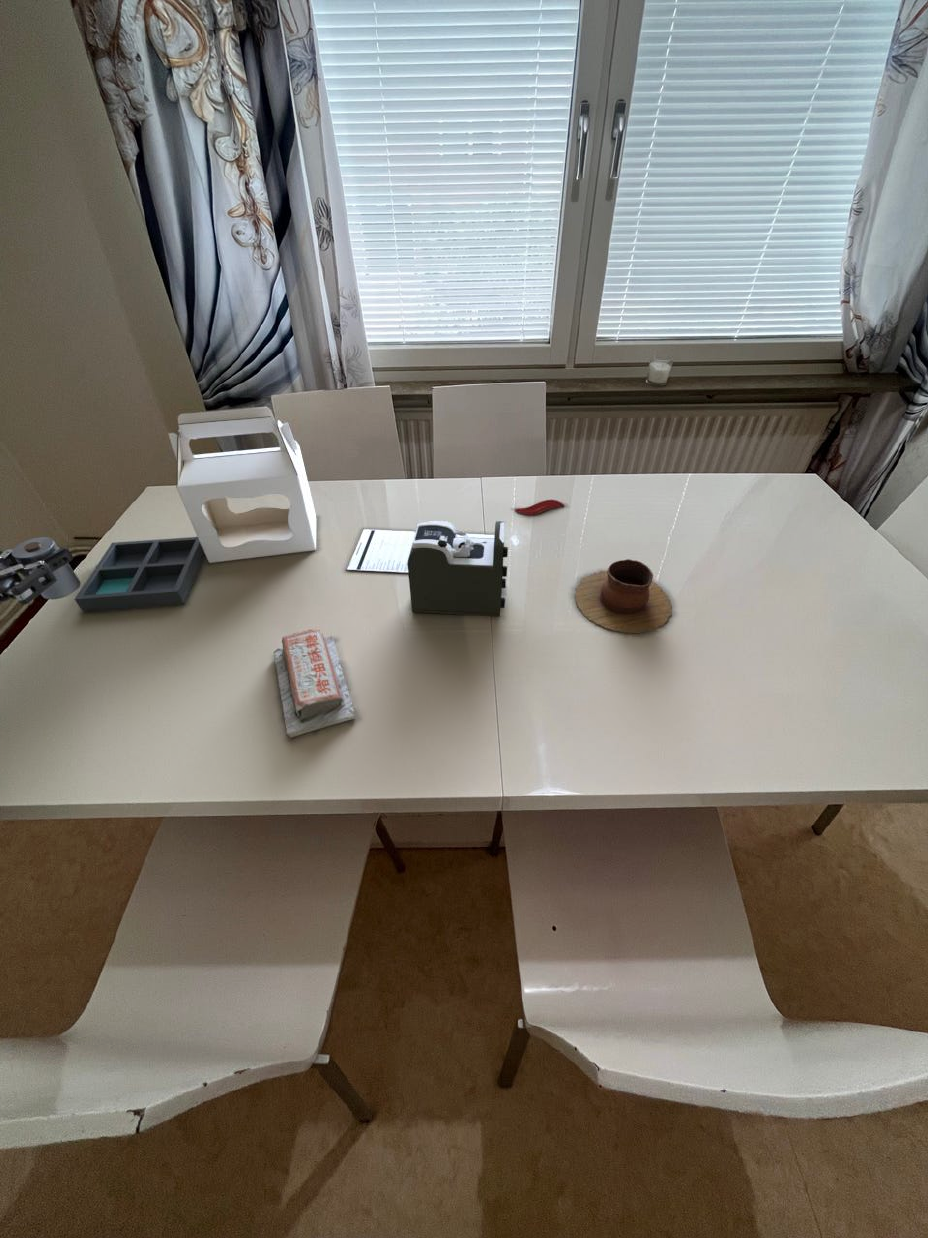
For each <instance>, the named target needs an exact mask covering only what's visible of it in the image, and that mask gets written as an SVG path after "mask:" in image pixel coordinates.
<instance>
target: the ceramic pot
mask: <svg viewBox="0 0 928 1238" xmlns="http://www.w3.org/2000/svg"><path fill="white" fill-rule="evenodd" d="M653 579H654V574H653V571H652V570H651V568H650V567H649V566H648V565H646V564H645V563H643V562H641V561H639V560H633V559H629V558H627V559H622V560H621V559H620V560H616V561H614V562H612V563H610V565H609V566H608V568H607V570H600V572H595V573H590V575H587V576H586V577H583V578H582V579H581V580H580V581H579V583H578V585H577V587H576V588H575V592H574V599H575V601H576V605H577V607H578V609H579V610H580V612H581V613H582V615H583V616H585V618H586V619H587V620H588V621H591V622H593V623H595V625H599V626H601V628H602V627H604V628H606V629H607V630H611V631H617V632H621V633H624V634H627V633H633V634H642V633H643V634H644V633H647V632H650V631H654V630H656V629H657V628H658V627H663V625H665V623H666V622H668V621H669V618H670V616H672V610H671V609H672V604H671V600H670V599H671V598H669V595H667V593H666V591H664V590H663V589H662V587H661V586H659V585H658V584H657V583H656V582H653Z"/></svg>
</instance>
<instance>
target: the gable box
mask: <svg viewBox="0 0 928 1238" xmlns="http://www.w3.org/2000/svg"><path fill="white" fill-rule="evenodd" d="M177 426H178V431H177V432H174V431H169V432H168V433H167V434H168V437H169V441H170V444H171V448H172V451H173V454H174V456H175V459H176V476H175V477H176V478H175V479H176V485H175V487H176V490H177V492H178V495H179V497H180V499H181V501H182V504H183V507H184V509H185V511H186V513H187V516H188V518H189V520H190V522H191V525H192V527H193V530H194V531H195V534H196V537H198V539H199V541H200V543H201V546H202V548H203V550H204V553H205V557H206V560H207V562H208V563H210V564H213V563H220V562H222V563H223V562H230V561H238V560H245V559H254V558H261V557H268V556H269V557H270V556H279V555H287V554H295V553H303V552H304V553H305V552H312V551H316V550H317V515H316V509H315V505H314V501H313V497H312V493H311V489H310V485H309V481H308V476H307V472H306V468H305V464H304V460H303V455H302V450H301V446H300V445H299V443H298V442H297V441H296V440H295V437H294V434H293V432H292V431H293V430H292V429H291V425H290V422H289V421H284V422H283V423H282V421H280V420H279V419H278V420H277V418H276V416H275V415H274V412H273V410H272V409H271V408H270V407H269V406H257V407H256V406H254V407H246V408H245V407H243V408H241V407H240V408H231V409H230V408H229V409H219V410H218V409H217V410H205V411H192V412H183V413H182V412H181V413H179V414H178V415H177ZM262 433H265V434H269V433H272V434H274V435H275V437H276V438H277V441H278V446H275V447H266V448H264V447H263V448H255V449H244V450H232V451H222V452H212V453H211V452H210V453H201V454H200V453H199V454H194V453H193V450H192V448H191V445H190V441H191V440H198V439H207V438H208V439H209V438H219V437H231V436H241V435H253V434H262ZM268 495H269V496H270V495H281V496H284V497H286V498H287V499H288V500H289V507H288V508H282V507H276V506H263V507H257V508H253V509H251V510H248V511H244V512H233V511H232V510H231V509H230V508H229V504H228V500H227V499H254V498H260V497H263V496H268Z"/></svg>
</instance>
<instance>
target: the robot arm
mask: <svg viewBox="0 0 928 1238" xmlns="http://www.w3.org/2000/svg"><path fill="white" fill-rule="evenodd" d="M58 548H59V549H58V550H56V551H54V552H53V553H51V554H49V555H47V556H46V557H44V558H42V559H41V560H40V561H37V562H34V563H31V564H28V565H23V564H18V562H17V561H16V559H15V558H14V557H13V555H12V551H13V549H12V548H9V549H6V550H4V551H3V550H2V549H1V548H0V604H2V603H4V602H5V603H6V602H7V601H10V600H11V599H12V600H17V601H18V602H19V604H20V605H21V606H23V605H28V604H29V603H30V602H32V601H33V600H34V599H36V598H37V597H38V596H40V595H41V593H42V592H43V591H45V590H46V589H47V588H48V587H50V586H51V585H52V584H54V583H55V582H56V581H57V579H56V577H55V576H54V574H53V572H54V571H55V570H57V569H58V568H60V567H62V566H63V565H65V564H67V563H70V562H72V561H73V559H74V556H73V554H72V553H71V551H70V550H69V548H67V547H63V546H61V547H58ZM35 569H37V570H36V571H34V572H33V573H32V574H29V572H30V571H32V570H35ZM20 574H21V575H22V576H23V578H22V577H21V576H20ZM44 579H45V580H44ZM41 580H44V581H43V582H42V583H40V581H41Z"/></svg>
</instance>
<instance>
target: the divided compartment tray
mask: <svg viewBox="0 0 928 1238" xmlns="http://www.w3.org/2000/svg"><path fill="white" fill-rule="evenodd" d="M205 557H206V555H205V553H204V550H203V548H202V546H201V543H200V541H199V539H198V536H189V537H175V538H174V537H173V538H161V539H146V540H132V541H131V540H130V541H118V542H117V541H116V542H111V543H110V545H109V547H108V548H107V550H106V551H105V553H104V554H103V556H102V557H101V559H100V560H99V562H97V565H96V566H95V568H94V569H93V571H92V572H91V573H90V574H89V576H88V578H87V580H86V581H85V583H84V584H83V586H82V587H81V589H80V590H79V591H78V593H77V595H76V596H75V598H74V601H75V602H76V604H77V605H78V607H79V608H80V610H81V611H82V612H83V613H96V612H108V611H109V612H110V611H120V610H121V611H122V610H134V609H147V608H158V607H170V606H171V607H172V606H173V607H174V606H183V605H185V604H186V601H187V599H188V598H189V597H188V596H189V594H190V592H191V590H192V587H193V585H194V583H195V580H196V578H197V575H198V573H199V571H200V569H201V566H202V564H203V561H204V559H205Z"/></svg>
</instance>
